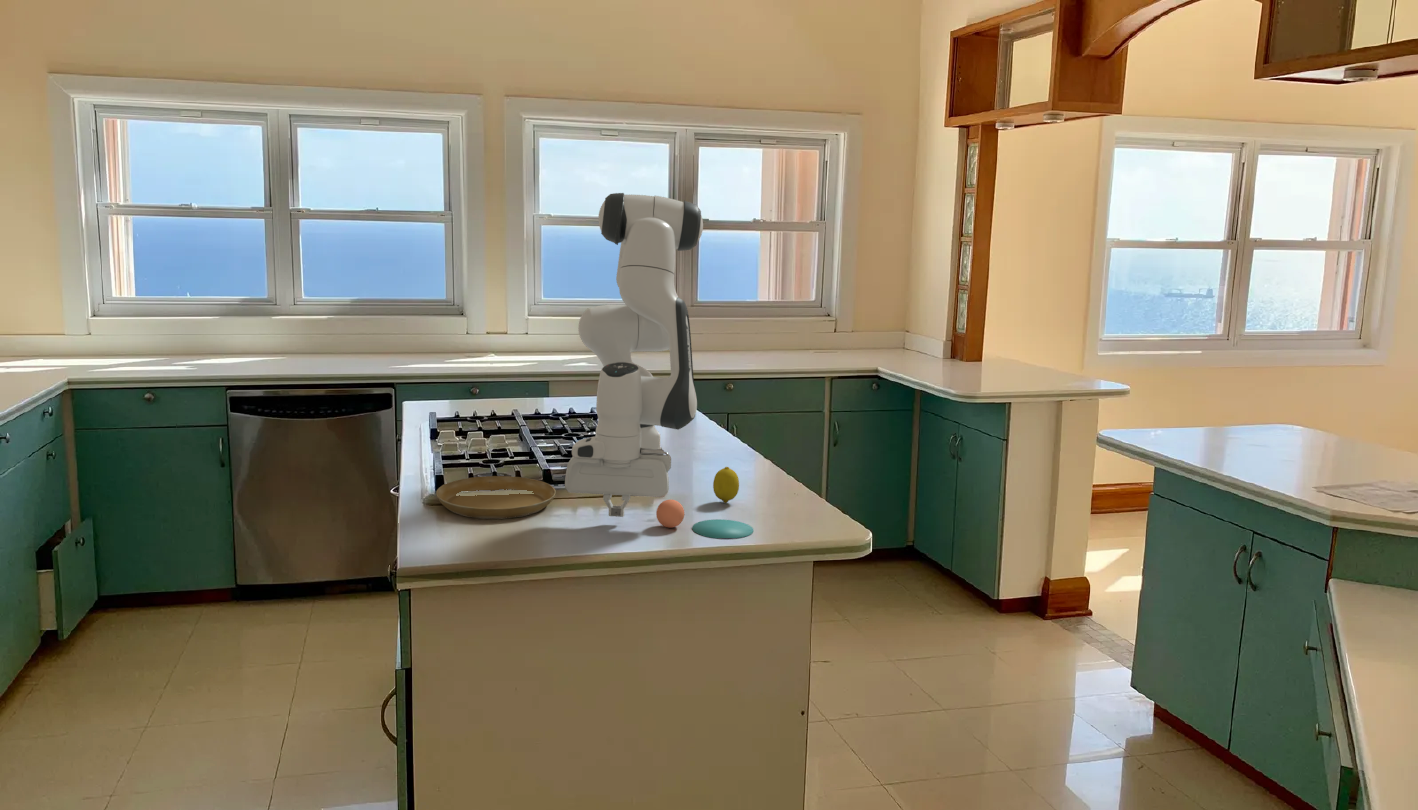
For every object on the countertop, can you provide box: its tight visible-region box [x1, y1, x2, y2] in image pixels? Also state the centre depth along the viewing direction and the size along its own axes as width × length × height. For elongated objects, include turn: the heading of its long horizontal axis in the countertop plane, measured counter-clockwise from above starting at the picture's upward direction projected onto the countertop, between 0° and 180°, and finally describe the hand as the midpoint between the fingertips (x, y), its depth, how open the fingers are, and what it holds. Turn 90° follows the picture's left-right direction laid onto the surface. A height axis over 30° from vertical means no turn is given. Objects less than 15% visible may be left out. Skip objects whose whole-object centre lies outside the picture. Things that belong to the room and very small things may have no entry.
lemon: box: [712, 466, 740, 504], centre depth 219 cm, size 6×6×8 cm
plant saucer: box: [435, 475, 557, 520], centre depth 211 cm, size 24×24×3 cm
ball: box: [655, 498, 685, 529], centre depth 201 cm, size 6×6×6 cm
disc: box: [692, 519, 754, 539], centre depth 201 cm, size 12×12×1 cm
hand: (616, 515), depth 201 cm, fingers closed
